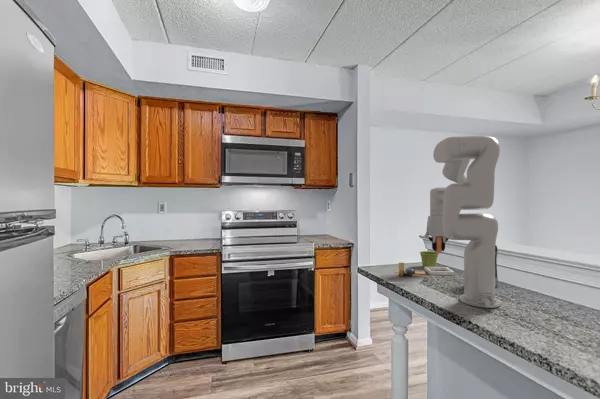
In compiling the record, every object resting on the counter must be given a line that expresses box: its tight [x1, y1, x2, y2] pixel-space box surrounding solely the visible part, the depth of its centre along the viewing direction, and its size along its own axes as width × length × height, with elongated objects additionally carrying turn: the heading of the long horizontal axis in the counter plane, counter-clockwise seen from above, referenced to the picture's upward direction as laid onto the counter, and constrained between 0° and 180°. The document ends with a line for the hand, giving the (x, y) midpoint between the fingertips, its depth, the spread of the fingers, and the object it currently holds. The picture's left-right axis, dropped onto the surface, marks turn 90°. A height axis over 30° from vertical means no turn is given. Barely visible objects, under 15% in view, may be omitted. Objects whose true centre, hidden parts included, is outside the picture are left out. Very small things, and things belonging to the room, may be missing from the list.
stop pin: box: [434, 237, 443, 254], centre depth 149 cm, size 3×3×8 cm
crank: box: [398, 262, 416, 276], centre depth 144 cm, size 11×4×6 cm, turn 131°
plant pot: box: [419, 250, 440, 268], centre depth 161 cm, size 9×9×9 cm
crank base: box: [393, 269, 430, 279], centre depth 147 cm, size 14×14×3 cm
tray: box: [423, 266, 456, 278], centre depth 149 cm, size 11×11×2 cm
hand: (438, 250), depth 149 cm, fingers closed on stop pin, 3 cm apart
